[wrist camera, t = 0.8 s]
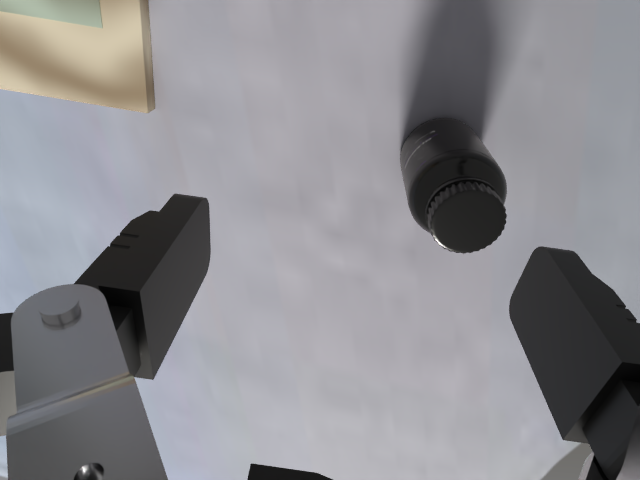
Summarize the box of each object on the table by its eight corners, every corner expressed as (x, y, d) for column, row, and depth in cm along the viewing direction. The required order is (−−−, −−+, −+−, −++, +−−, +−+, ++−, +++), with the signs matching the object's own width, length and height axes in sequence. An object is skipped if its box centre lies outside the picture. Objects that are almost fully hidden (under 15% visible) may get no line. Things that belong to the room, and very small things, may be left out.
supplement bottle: (401, 115, 35) (420, 170, 25) (485, 115, 35) (538, 172, 25) (395, 190, 39) (410, 265, 29) (471, 191, 38) (512, 267, 28)
